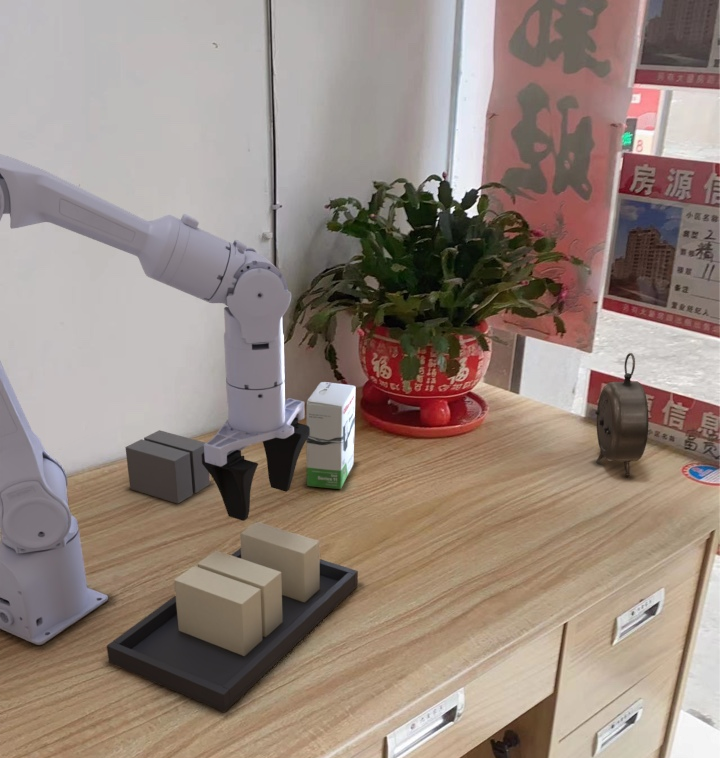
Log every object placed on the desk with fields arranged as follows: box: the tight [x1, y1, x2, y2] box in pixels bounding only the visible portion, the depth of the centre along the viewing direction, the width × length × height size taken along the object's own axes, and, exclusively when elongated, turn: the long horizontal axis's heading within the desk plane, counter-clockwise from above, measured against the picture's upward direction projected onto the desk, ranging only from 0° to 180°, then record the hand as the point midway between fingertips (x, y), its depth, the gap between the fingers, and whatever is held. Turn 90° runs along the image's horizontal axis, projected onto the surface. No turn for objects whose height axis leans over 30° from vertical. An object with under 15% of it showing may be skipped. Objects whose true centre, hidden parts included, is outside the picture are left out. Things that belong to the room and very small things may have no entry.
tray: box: [106, 547, 359, 713], centre depth 89 cm, size 24×14×2 cm, turn 151°
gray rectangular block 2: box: [143, 429, 211, 494], centre depth 116 cm, size 3×8×6 cm, turn 61°
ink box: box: [305, 381, 356, 490], centre depth 117 cm, size 9×5×12 cm, turn 168°
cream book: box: [239, 521, 321, 602], centre depth 93 cm, size 3×8×6 cm, turn 61°
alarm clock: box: [594, 352, 649, 478], centre depth 121 cm, size 11×5×16 cm, turn 179°
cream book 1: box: [173, 565, 262, 656], centre depth 85 cm, size 3×8×6 cm, turn 61°
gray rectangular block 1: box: [125, 438, 194, 505], centre depth 113 cm, size 3×8×6 cm, turn 61°
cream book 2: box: [197, 550, 283, 637], centre depth 88 cm, size 3×8×6 cm, turn 60°
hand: (259, 502), depth 93 cm, fingers open, 7 cm apart
